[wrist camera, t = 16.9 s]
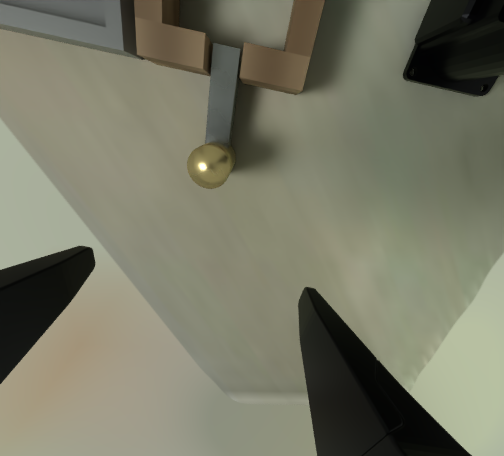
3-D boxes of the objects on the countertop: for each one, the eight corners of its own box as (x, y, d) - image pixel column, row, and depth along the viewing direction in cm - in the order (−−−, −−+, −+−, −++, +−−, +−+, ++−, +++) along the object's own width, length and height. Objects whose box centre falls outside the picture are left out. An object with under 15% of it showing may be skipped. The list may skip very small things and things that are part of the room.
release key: (250, 58, 16) (247, 38, 12) (233, 176, 20) (226, 192, 16) (210, 49, 16) (193, 26, 12) (201, 170, 20) (186, 184, 16)
